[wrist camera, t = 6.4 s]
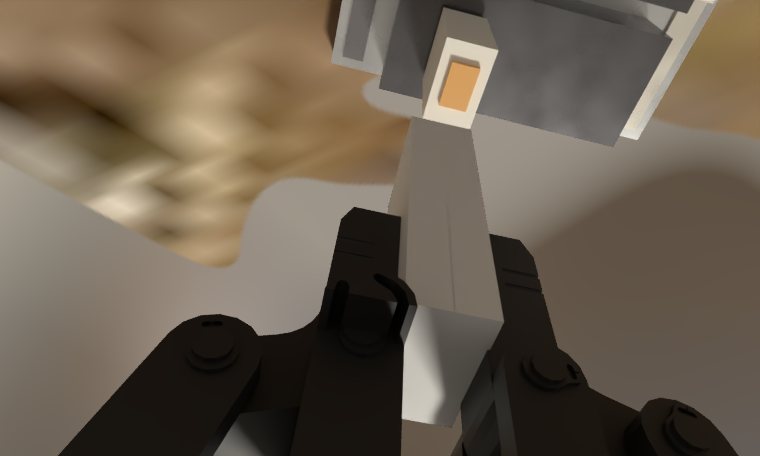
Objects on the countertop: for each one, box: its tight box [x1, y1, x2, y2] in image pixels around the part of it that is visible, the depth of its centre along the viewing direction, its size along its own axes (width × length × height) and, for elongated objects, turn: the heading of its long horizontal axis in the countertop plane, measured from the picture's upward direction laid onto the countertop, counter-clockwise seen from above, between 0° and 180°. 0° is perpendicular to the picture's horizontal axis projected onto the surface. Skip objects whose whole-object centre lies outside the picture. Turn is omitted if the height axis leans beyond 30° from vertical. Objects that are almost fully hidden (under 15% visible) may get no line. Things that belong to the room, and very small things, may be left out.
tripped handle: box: [423, 7, 499, 129], centre depth 20 cm, size 3×2×4 cm, turn 167°
